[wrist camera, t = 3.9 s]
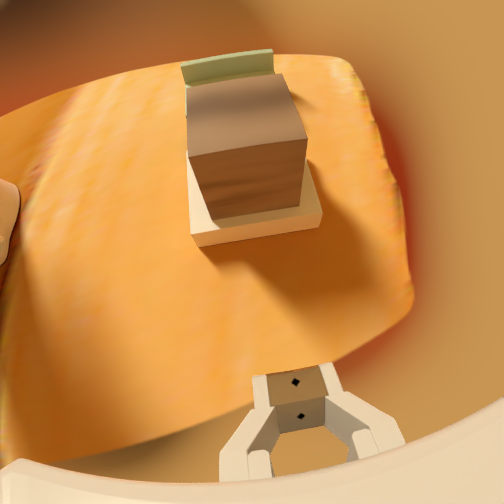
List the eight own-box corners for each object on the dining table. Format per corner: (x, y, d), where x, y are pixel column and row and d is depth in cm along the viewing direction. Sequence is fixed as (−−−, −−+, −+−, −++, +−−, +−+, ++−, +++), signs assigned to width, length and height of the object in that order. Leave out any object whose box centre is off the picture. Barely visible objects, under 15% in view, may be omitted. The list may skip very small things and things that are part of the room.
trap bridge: (318, 227, 30) (327, 194, 24) (198, 247, 30) (182, 218, 24) (272, 82, 39) (271, 48, 34) (189, 95, 39) (180, 63, 34)
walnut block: (299, 206, 28) (307, 138, 19) (211, 220, 28) (187, 157, 19) (281, 142, 31) (281, 73, 22) (205, 154, 31) (186, 88, 22)
